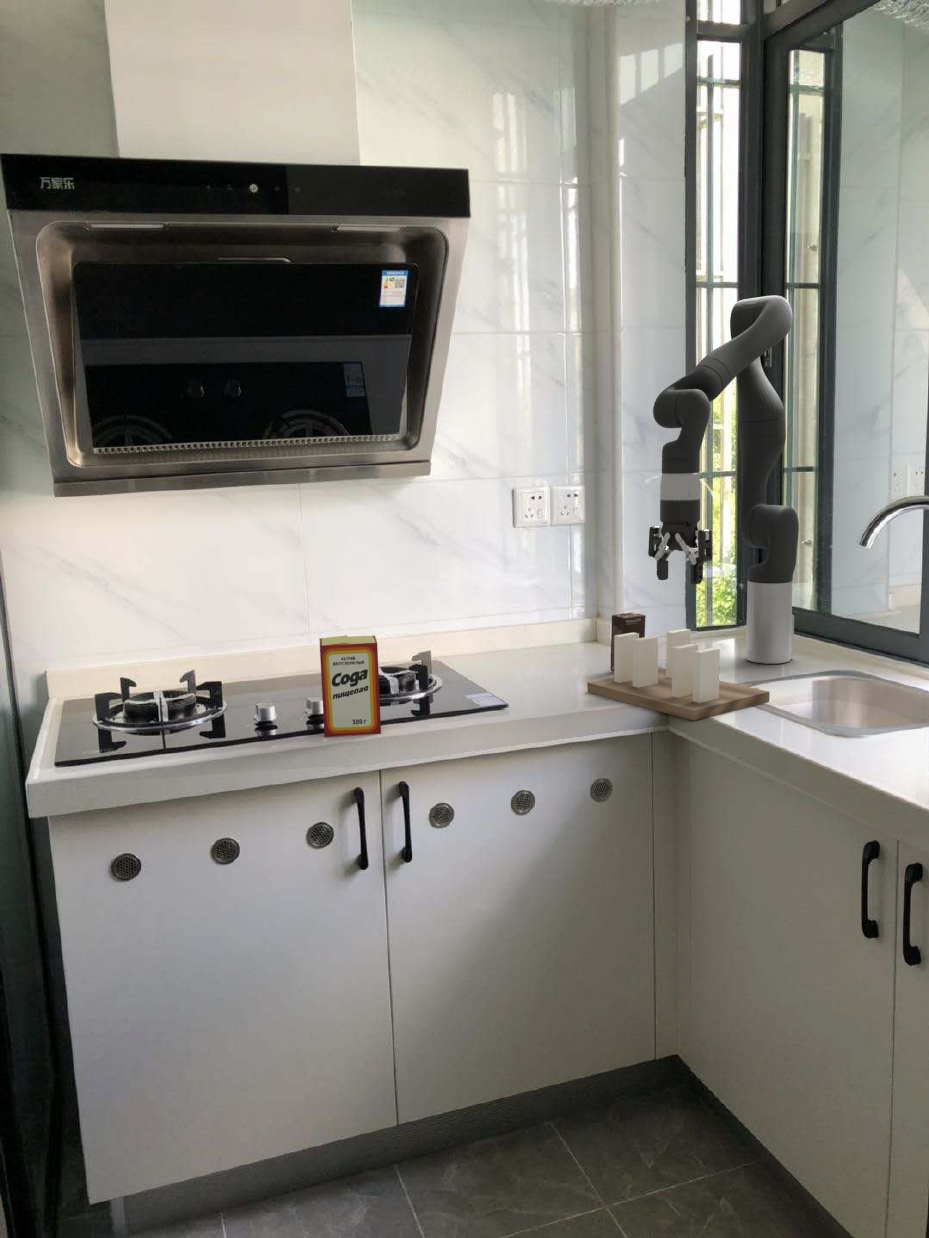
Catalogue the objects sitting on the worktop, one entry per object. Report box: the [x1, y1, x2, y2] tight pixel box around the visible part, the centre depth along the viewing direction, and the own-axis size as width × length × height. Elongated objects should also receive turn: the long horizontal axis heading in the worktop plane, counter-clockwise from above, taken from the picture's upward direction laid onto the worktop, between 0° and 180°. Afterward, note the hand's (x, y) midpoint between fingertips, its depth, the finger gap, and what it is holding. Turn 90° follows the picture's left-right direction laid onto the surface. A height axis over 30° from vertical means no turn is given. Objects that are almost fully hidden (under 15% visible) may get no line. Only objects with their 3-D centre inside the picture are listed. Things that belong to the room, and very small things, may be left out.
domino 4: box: [672, 643, 699, 698], centre depth 184 cm, size 2×5×9 cm, turn 125°
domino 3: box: [665, 628, 692, 678], centre depth 198 cm, size 2×5×9 cm, turn 125°
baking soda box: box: [319, 635, 382, 738], centre depth 173 cm, size 10×6×16 cm
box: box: [610, 611, 647, 673], centre depth 211 cm, size 6×4×12 cm
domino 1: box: [613, 632, 639, 683], centre depth 196 cm, size 2×5×9 cm, turn 125°
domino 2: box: [633, 635, 659, 688], centre depth 192 cm, size 2×5×9 cm, turn 125°
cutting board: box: [586, 667, 771, 721], centre depth 190 cm, size 20×27×2 cm
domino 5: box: [693, 647, 721, 703], centre depth 180 cm, size 2×5×9 cm, turn 125°
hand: (679, 581), depth 196 cm, fingers open, 8 cm apart
